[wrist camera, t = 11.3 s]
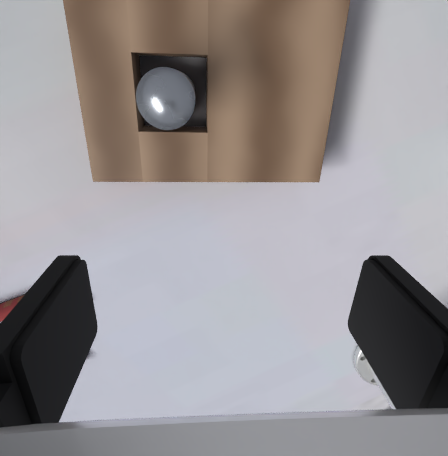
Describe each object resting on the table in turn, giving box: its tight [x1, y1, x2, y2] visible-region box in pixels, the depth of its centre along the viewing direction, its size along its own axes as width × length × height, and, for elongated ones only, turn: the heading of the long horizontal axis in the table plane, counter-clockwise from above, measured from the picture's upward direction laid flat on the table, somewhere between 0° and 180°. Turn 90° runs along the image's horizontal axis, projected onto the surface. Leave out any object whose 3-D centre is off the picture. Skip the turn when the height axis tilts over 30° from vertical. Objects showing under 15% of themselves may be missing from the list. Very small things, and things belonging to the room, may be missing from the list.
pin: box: [136, 67, 195, 130], centre depth 23 cm, size 4×4×9 cm
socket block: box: [63, 0, 350, 182], centre depth 26 cm, size 20×14×4 cm
